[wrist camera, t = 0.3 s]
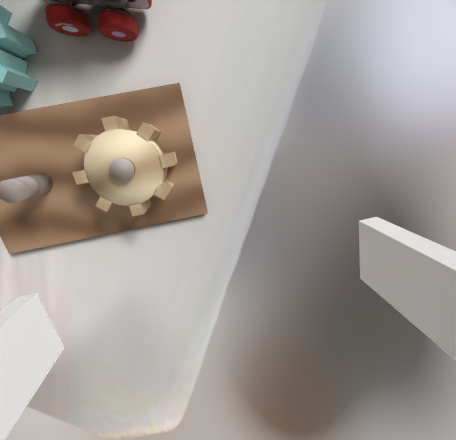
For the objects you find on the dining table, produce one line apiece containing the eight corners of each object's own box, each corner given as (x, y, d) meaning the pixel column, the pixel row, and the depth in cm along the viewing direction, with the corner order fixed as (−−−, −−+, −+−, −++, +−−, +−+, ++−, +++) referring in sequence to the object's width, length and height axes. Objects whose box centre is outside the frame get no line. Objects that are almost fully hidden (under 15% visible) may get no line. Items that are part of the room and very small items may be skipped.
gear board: (-47, 125, 31) (-118, 121, 24) (179, 84, 32) (174, 69, 25) (15, 250, 36) (-28, 276, 29) (207, 211, 37) (209, 227, 30)
